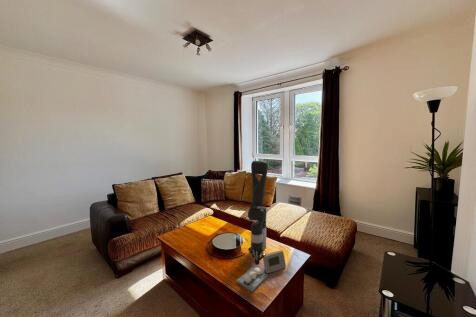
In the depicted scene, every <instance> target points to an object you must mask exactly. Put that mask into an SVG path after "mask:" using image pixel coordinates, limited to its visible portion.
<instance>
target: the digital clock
mask: <svg viewBox="0 0 476 317" xmlns="http://www.w3.org/2000/svg"><path fill="white" fill-rule="evenodd" d="M285 259H286V258H285V253H284V251H283V249H282V250H277V251H273V252H270V253H266V256H265V257H263V258H262V261H263V267H264V271H265V272H264V273H265V274H270V273H273V272H277V271H280V270H282V269H284V268H286V267H287V264H286V260H285Z"/></svg>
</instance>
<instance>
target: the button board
mask: <svg viewBox="0 0 476 317" xmlns="http://www.w3.org/2000/svg"><path fill="white" fill-rule="evenodd" d="M254 268H255V266H252V267H251V268H249V269H248V270H247V271H246V272H244V274H242V275H241V276H240V277H239V278H237V279H236V282H237V284H239V285H240V286H242V287H244V288H245V289H247V291H249V292H251V293H254V292H255V290H257V288H258V287H259V286H261V285H262V284H263V283H264V282H265V281H266V279H268V277H269V275H268V273H266V272H264V271H262V270H261V274H260V275H259V276H257V275H256V278H255V280H254V281H253V280H251V281H250V283H249V284H246V283H245V281H244V275H245V274H249V273H250V272H254Z"/></svg>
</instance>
